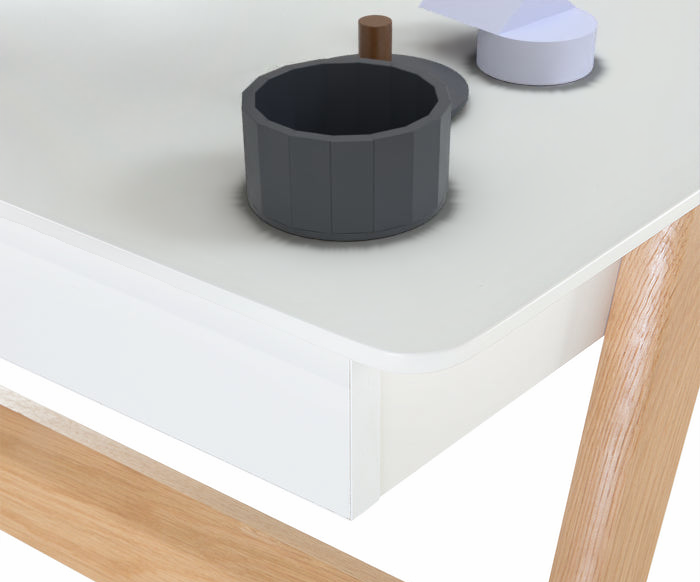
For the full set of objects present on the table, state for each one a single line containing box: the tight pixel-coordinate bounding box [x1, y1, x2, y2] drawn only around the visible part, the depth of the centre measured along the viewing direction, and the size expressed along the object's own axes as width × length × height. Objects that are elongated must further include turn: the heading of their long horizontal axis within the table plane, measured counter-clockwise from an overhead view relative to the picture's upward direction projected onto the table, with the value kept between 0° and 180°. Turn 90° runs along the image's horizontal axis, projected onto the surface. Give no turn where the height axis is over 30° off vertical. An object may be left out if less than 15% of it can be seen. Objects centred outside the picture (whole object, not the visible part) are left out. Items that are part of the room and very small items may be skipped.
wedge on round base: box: [418, 0, 598, 86], centre depth 95 cm, size 9×7×13 cm
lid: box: [327, 14, 470, 118], centre depth 88 cm, size 14×14×6 cm
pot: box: [240, 57, 452, 242], centre depth 77 cm, size 13×13×6 cm
